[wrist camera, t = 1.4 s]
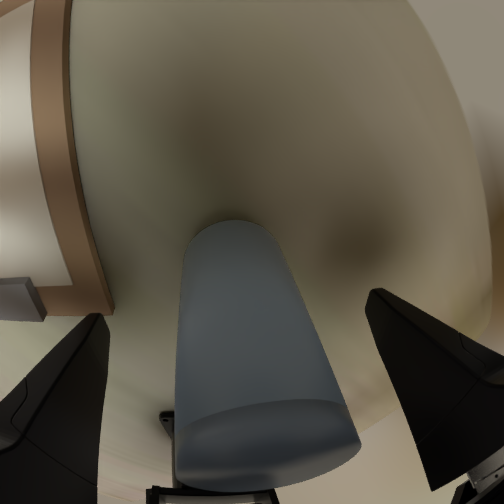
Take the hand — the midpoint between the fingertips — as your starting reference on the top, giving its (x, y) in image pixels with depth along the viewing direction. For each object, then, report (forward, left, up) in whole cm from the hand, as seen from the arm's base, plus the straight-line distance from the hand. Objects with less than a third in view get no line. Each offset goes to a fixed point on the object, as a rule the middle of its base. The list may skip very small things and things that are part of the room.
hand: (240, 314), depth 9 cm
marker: (0, 0, -4) cm, 4 cm away
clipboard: (+5, +13, -4) cm, 15 cm away
